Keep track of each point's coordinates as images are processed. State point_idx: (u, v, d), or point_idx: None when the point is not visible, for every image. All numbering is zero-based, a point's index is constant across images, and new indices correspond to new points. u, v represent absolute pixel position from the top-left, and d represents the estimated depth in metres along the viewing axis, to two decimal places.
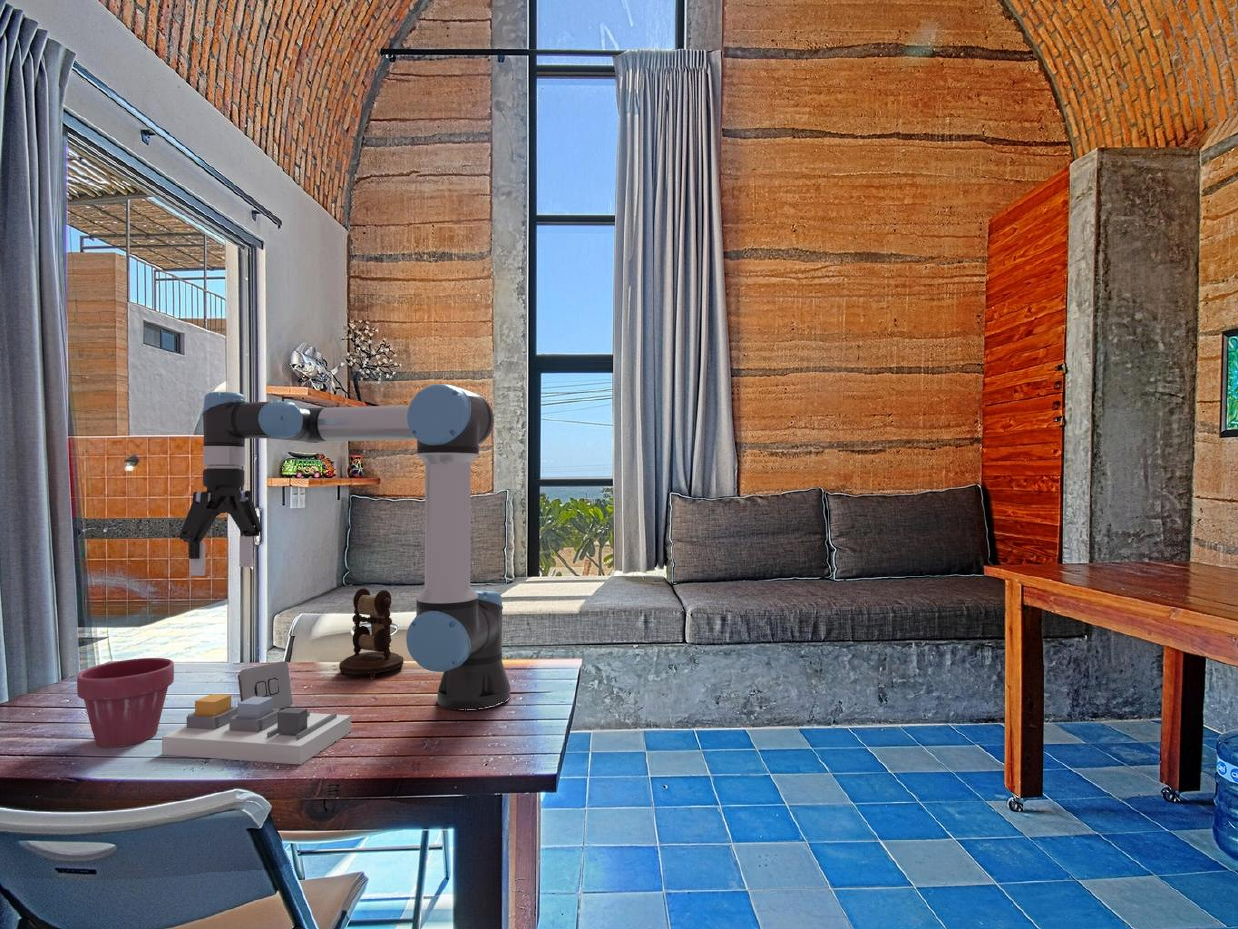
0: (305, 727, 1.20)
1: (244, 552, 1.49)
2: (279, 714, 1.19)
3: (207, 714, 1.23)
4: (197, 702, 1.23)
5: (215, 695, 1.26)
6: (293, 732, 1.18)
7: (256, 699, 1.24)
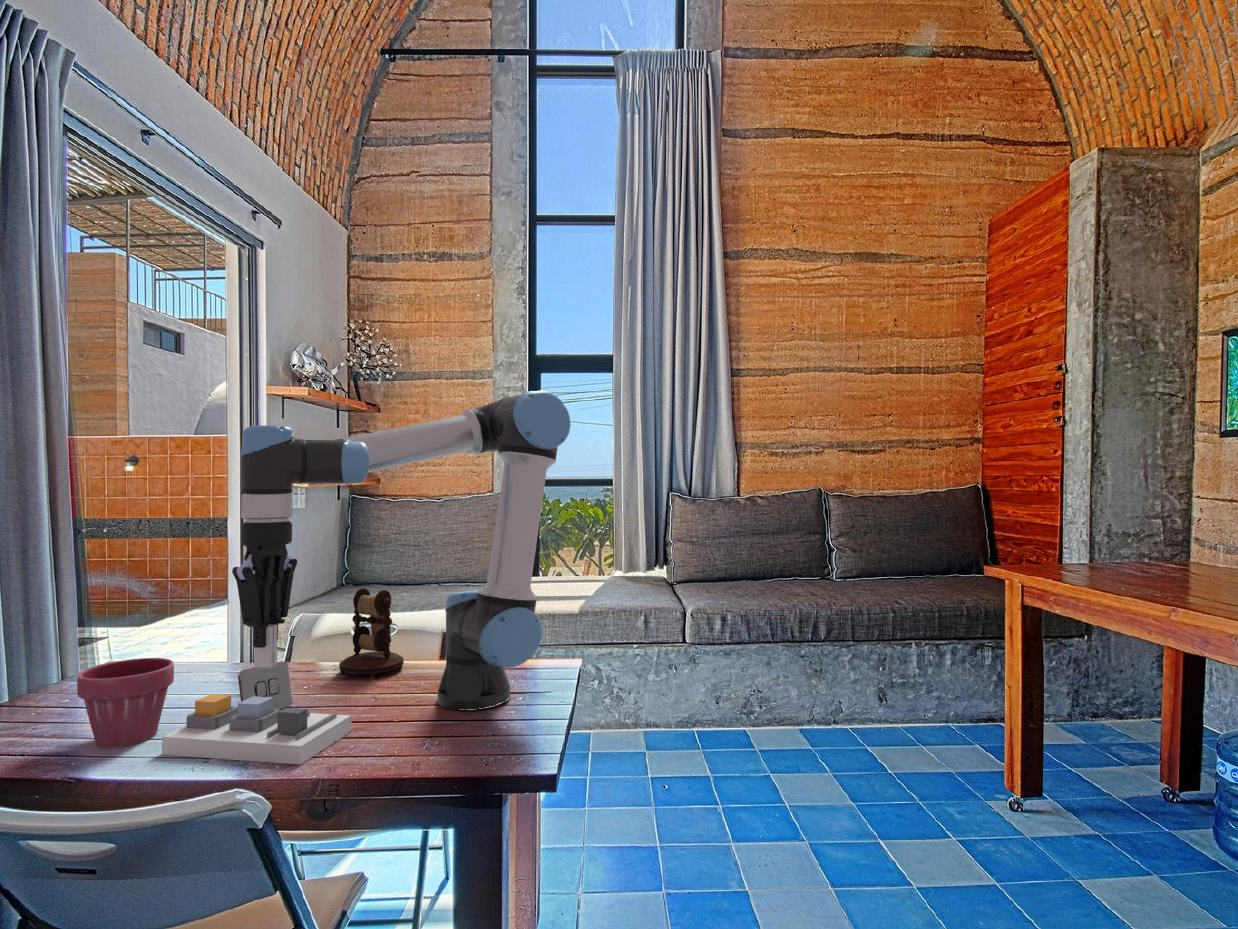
0: (305, 727, 1.20)
1: None
2: (279, 714, 1.19)
3: (207, 714, 1.23)
4: (197, 702, 1.23)
5: (215, 695, 1.26)
6: (293, 732, 1.18)
7: (256, 699, 1.24)
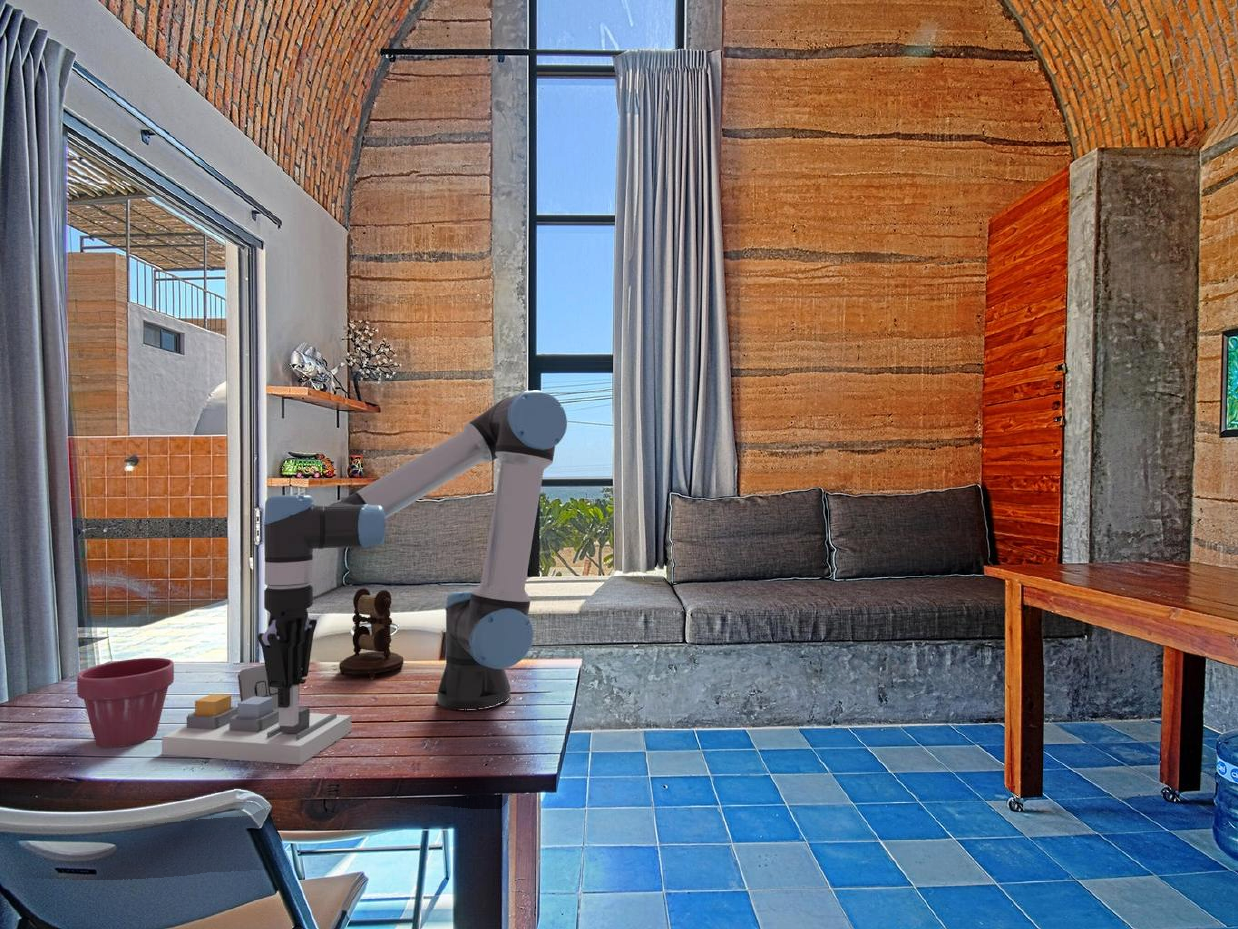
0: (307, 726, 1.20)
1: None
2: None
3: (207, 714, 1.23)
4: (197, 702, 1.23)
5: (215, 695, 1.26)
6: (295, 731, 1.19)
7: (256, 699, 1.24)
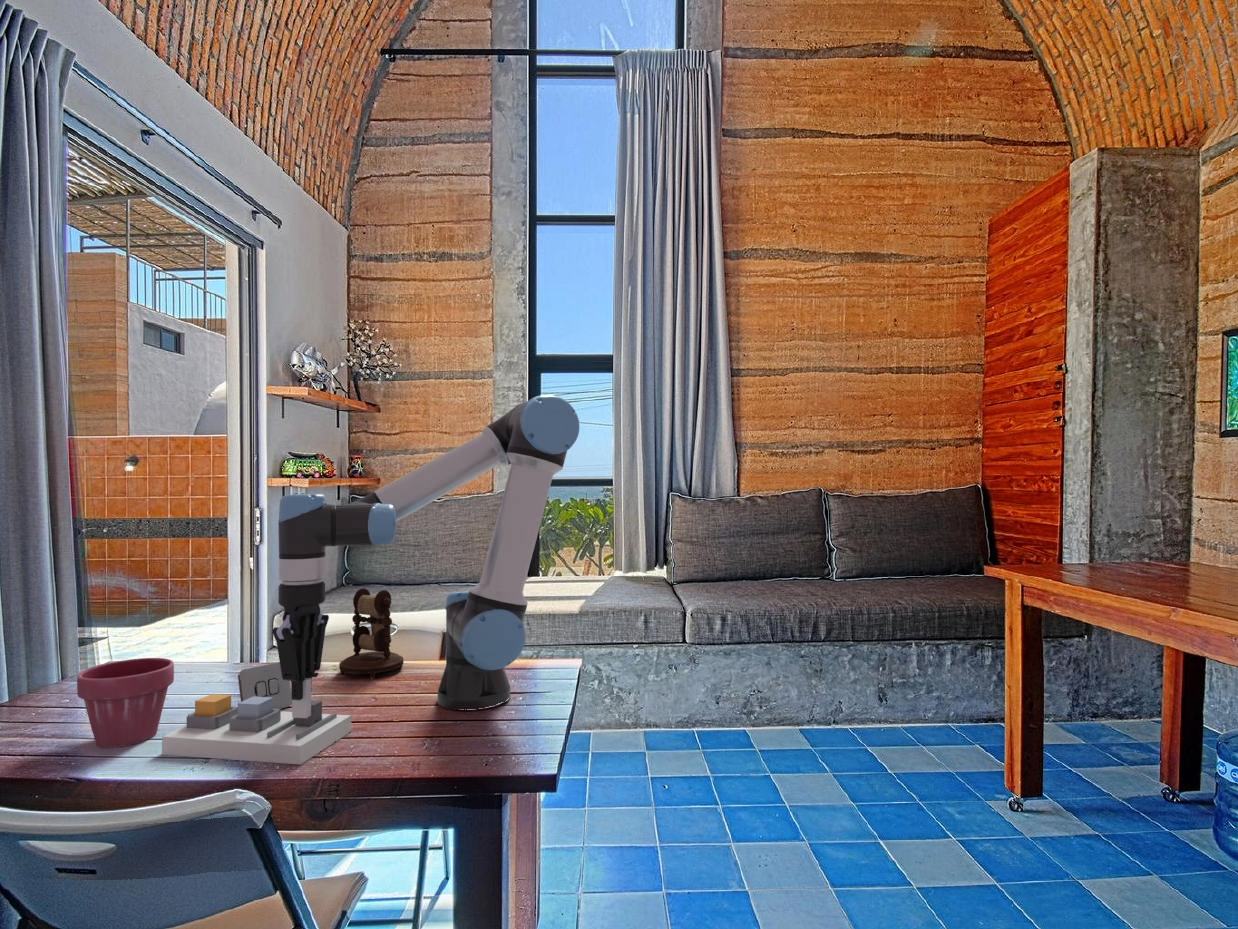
0: (320, 719, 1.24)
1: None
2: None
3: (207, 714, 1.23)
4: (197, 702, 1.23)
5: (215, 695, 1.26)
6: (308, 723, 1.22)
7: (256, 699, 1.24)
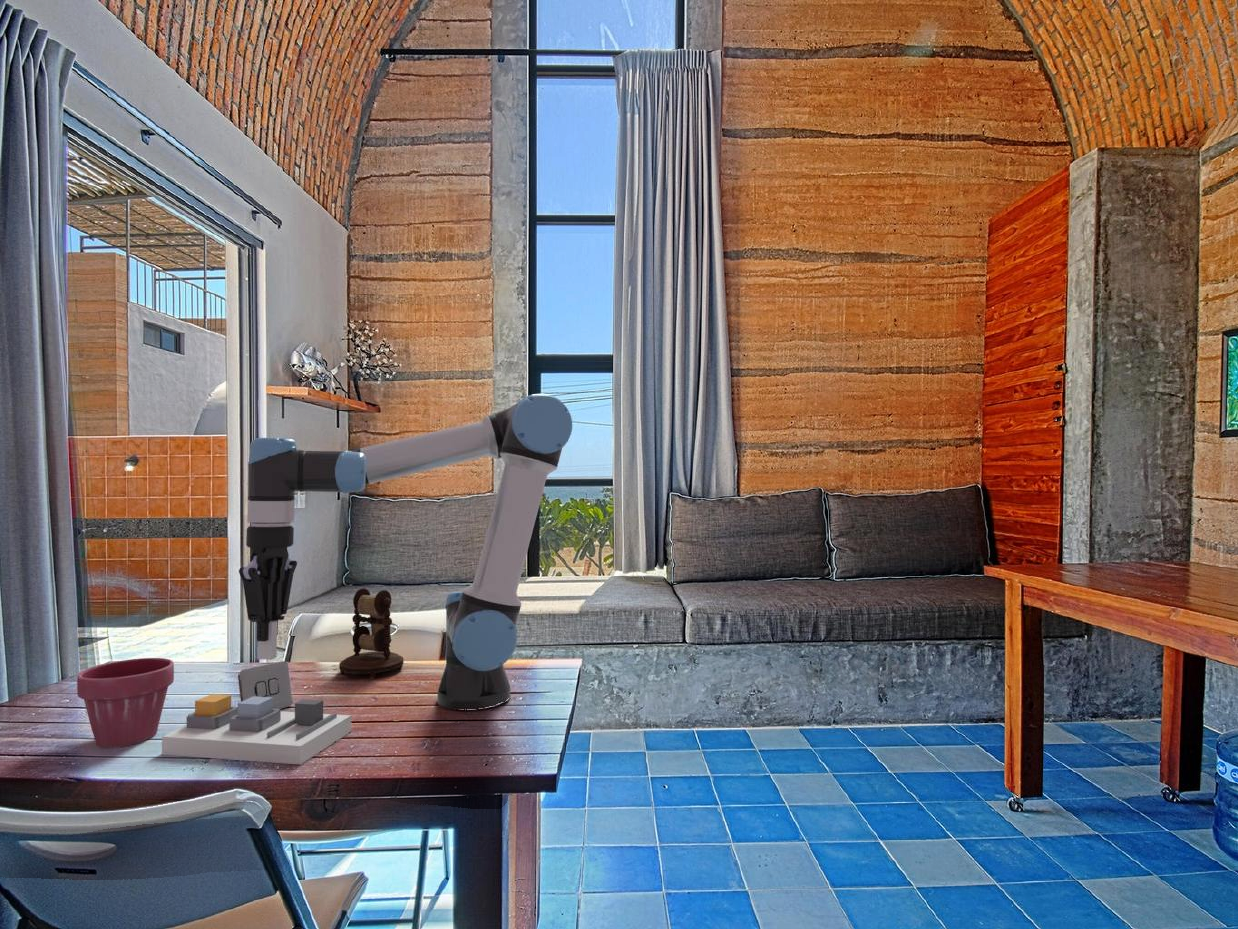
0: (321, 718, 1.24)
1: None
2: (296, 705, 1.23)
3: (207, 714, 1.23)
4: (197, 702, 1.23)
5: (215, 695, 1.26)
6: (310, 723, 1.23)
7: (256, 699, 1.24)
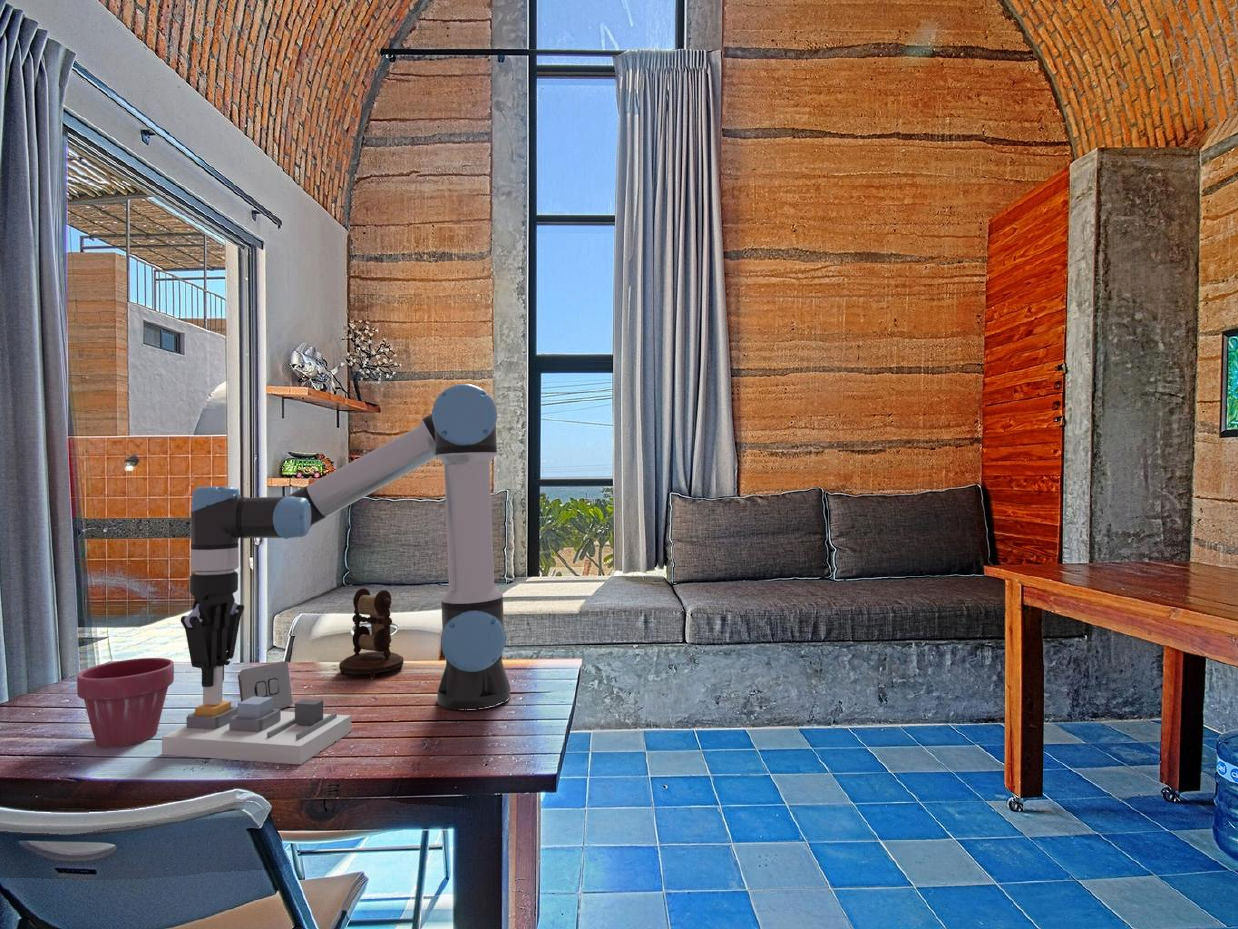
0: (321, 718, 1.24)
1: None
2: (296, 705, 1.23)
3: None
4: (197, 709, 1.23)
5: None
6: (310, 723, 1.23)
7: (256, 699, 1.24)
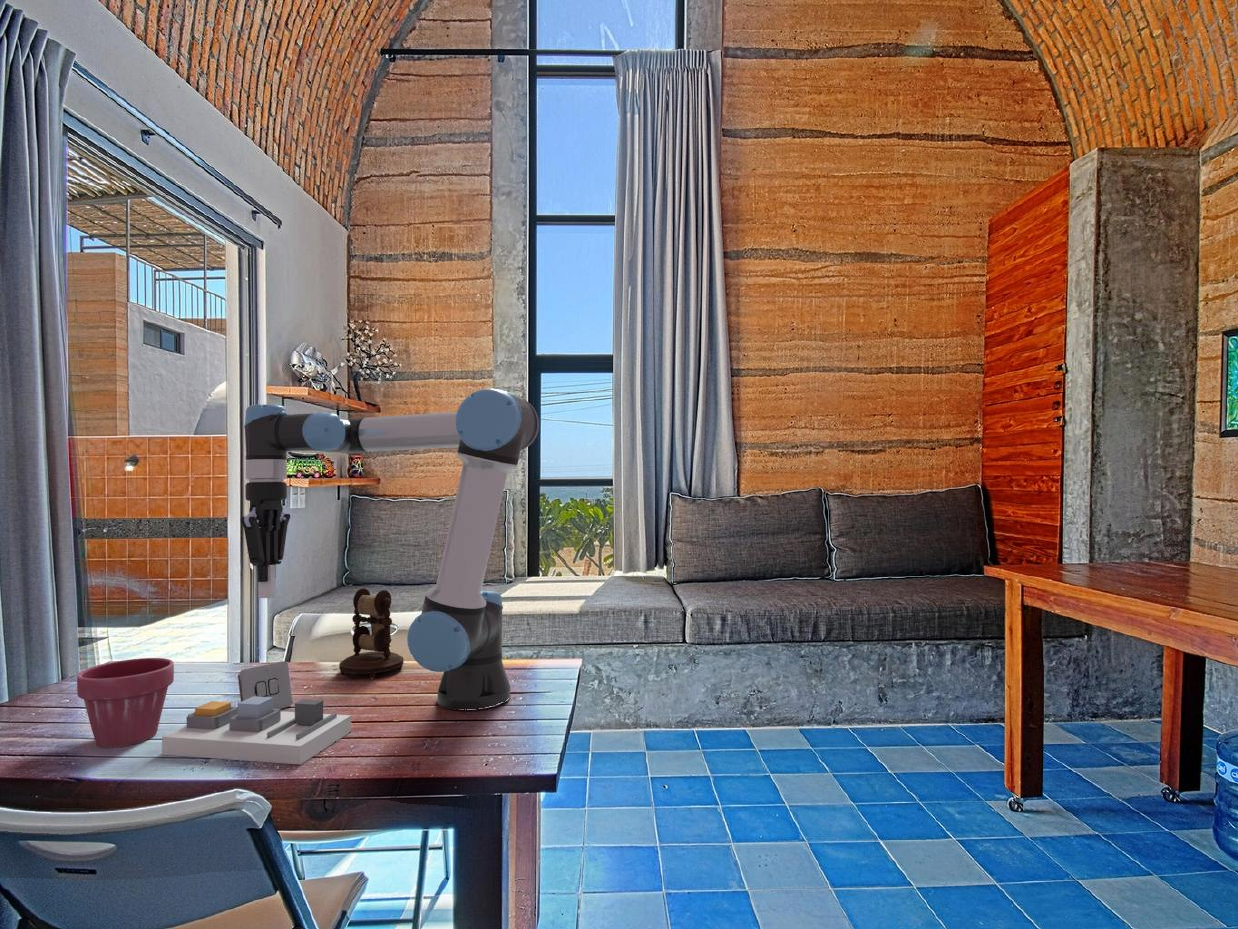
0: (321, 718, 1.24)
1: (266, 581, 1.41)
2: (296, 705, 1.23)
3: None
4: (197, 709, 1.23)
5: (215, 702, 1.26)
6: (310, 723, 1.23)
7: (256, 699, 1.24)
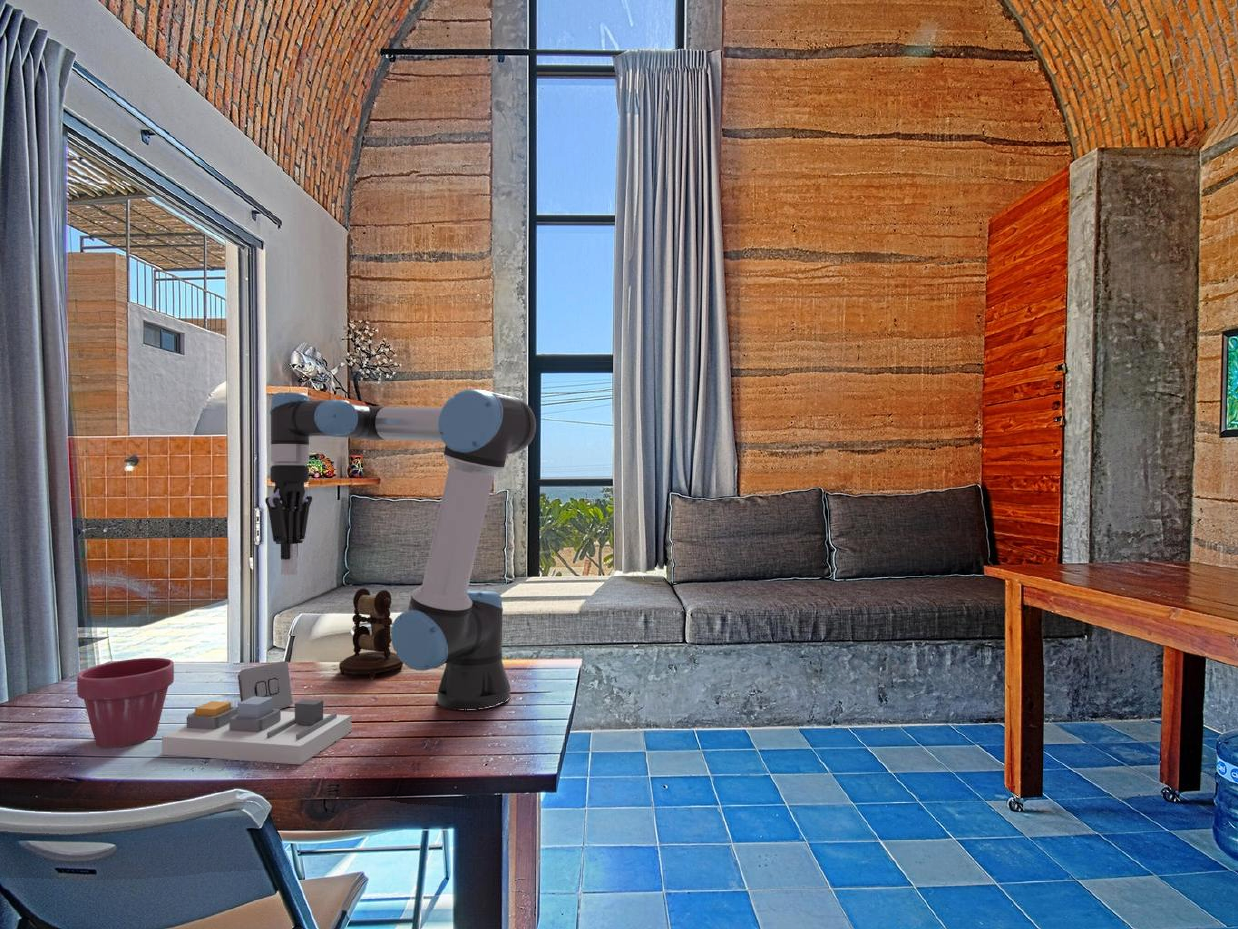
0: (321, 718, 1.24)
1: (288, 559, 1.49)
2: (296, 705, 1.23)
3: None
4: (197, 709, 1.23)
5: (215, 702, 1.26)
6: (310, 723, 1.23)
7: (256, 699, 1.24)
